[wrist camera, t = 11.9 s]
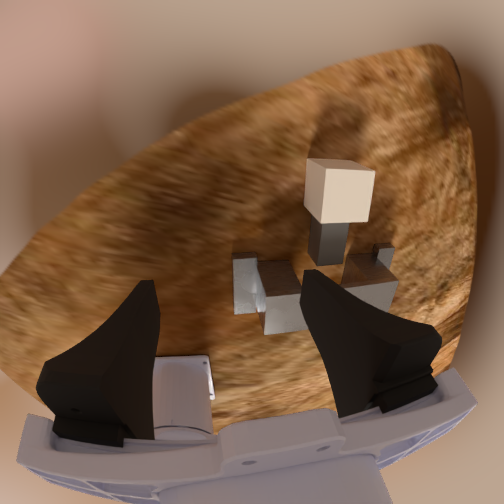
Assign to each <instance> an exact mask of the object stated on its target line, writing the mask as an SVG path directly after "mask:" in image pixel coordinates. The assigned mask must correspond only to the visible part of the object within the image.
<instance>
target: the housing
mask: <svg viewBox="0 0 504 504" xmlns="http://www.w3.org/2000/svg"><path fill="white" fill-rule="evenodd" d="M394 250H395V247H394V246H393V245H392V244H390V243H384V244H374V249H373V253H365V254H353V255H347V258H346V263H345V268H344V273H343V277H342V282H341V284H338V285H339V286H341V287H342V288H344V289H345V290H347V291H348V292H350V293H351V294H353V295H355V296H356V297H358V298H359V299H361V300H363V301H365V302H366V303H368V304H370V305H372V306H374V307H376V308H378V309H380V310H383V311H385V312H388V310H389V307H390V305H391V302H392V299H393V296H394V294H395V291H396V288H397V285H398V282H399V280H398V279H397V278H396V277H395V276H394V275H393V274H392V273H391V272H390V271H389V268H390V265H391V261H392V257H393V254H394ZM232 276H233V308H234V314H245V313H256V307H257V310H258V314H259V318H260V321H261V325H262V329H263V332H264V335H268V334H277V333H285V332H292V331H299V330H306V329H308V327H307V324H306V322H305V320H304V317H303V314H302V311H301V307H300V304H299V302H300V295H301V289H302V286H301V284H300V282H299V280H298V278H297V276H296V274H295V272H294V270H293V268H292V266H291V264H290V262H289V260H275V261H261V262H257V256H256V253H255V252H247V253H232Z"/></svg>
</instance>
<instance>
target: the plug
mask: <svg viewBox="0 0 504 504" xmlns="http://www.w3.org/2000/svg"><path fill="white" fill-rule="evenodd" d="M374 177H375V171H374V170H372V169H369V168H367V167H365V166H363V165H361V164H358V163H356V162H354V161H352V160H338V159H316V158H307V166H306V181H305V195H304V206H305V207H306V208H307V209H308V211H309V212H310V213H311V214H312V217H311V227H310V237H309V246H308V254H309V255H310V257H311V258H312V260H313V261H314V263H315V264H316V266H325V265H335V264H342V263H343V257H344V252H345V246H346V241H347V235H348V229H349V223H350V222H368V216H369V211H370V205H371V198H372V192H373V185H374Z"/></svg>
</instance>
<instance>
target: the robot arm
mask: <svg viewBox="0 0 504 504" xmlns="http://www.w3.org/2000/svg"><path fill="white" fill-rule="evenodd" d="M299 304H300V307H301V311H302V314H303V317H304V320H305V322H306V324H307V327H308V329H309V331H310V333H311V335H312V337H313V339H314V341H315V343H316V346H317V348H318V350H319V352H320V354H321V357H322V359H323V362H324V365H325V368H326V371H327V374H328V377H329V381H330V384H331V388H332V391H333V395H334V399H335V404H336V408H337V413H338V415H337V413H336V411H333V410H330V409H327V408H322V409H313V410H308V411H303V412H298V413H293V414H287V415H281V416H275V417H269V418H262V419H254V420H246V421H242V422H237V423H232V424H230V425H228V426H226V427H224V428H222V429H221V430H220V431H219V433H218V435H214V434H213V424H212V414H211V403H210V400H213V399H215V393H214V387H213V381H212V375H211V368H210V362H209V357H208V356H206V355H198V356H178V357H155V356H156V350H157V344H158V338H159V331H160V310H159V305H158V301H157V296H156V291H155V286H154V281H153V280H141V281H140V282H139V283H138V285H137V286H136V287H135V288H134V289H133V291H132V292H131V293H130V294H129V296H128V297H127V298H126V299H125V301H124V302H123V303H122V304H121V305H120V307H119V308H118V309H117V310H116V311H115V312H114V313H113V314H112V315H111V316H110V317H109V318H108V319H107V320H106V321H105V322H104V323H103V324H102V325H101V326H100V327H99V328H98V329H97V330H95V331H94V332H93V333H92V334H90V335H89V336H88V337H86V338H85V339H84V340H82V341H81V342H80V343H78V344H77V345H75V346H74V347H72V348H70V349H69V350H67V351H65V352H64V353H62V354H60V355H58V356H56V357H54V358H52V359H50V360H48V361H46V362H45V363H44V366H43V368H42V371H41V374H40V376H39V379H38V382H37V385H36V391H37V393H38V395H39V397H40V398H41V400H42V401H43V402H44V403H45V404H46V405H47V406H48V408H49V409H50V410H51V411H52V412H53V413H54V414H55V415H56V416H55V420H54V422H53V421H52V420H50V419H48V418H45V417H40V416H37V415H33V414H27V418H26V421H25V425H24V429H23V432H22V437H21V441H20V445H19V450H18V455H17V459H16V461H17V462H18V463H19V464H20V465H22V466H23V467H25V468H27V469H28V470H29V471H31V472H33V473H34V474H36V475H37V476H39V477H41V478H42V479H44V480H46V481H47V482H49V483H52V484H56V485H59V486H62V487H65V488H68V489H72V490H75V491H79V492H82V493H86V494H90V495H94V496H98V497H102V498H106V499H111V500H115V501H121V502H126V503H132V504H393V503H392V500H391V498H390V495H389V493H388V490H387V488H386V486H385V483H384V481H383V478H382V476H381V473H380V471H379V470H380V469H383V468H384V467H387V466H389V465H391V464H393V463H395V462H396V461H399V460H401V459H403V458H404V457H406V456H408V455H410V454H412V453H413V452H415V451H417V450H419V449H421V448H422V447H424V446H425V445H428V444H429V443H431V442H433V441H434V440H436V439H437V438H439V437H441V436H443V435H444V434H446V433H447V432H449V431H451V430H452V429H453V428H454V427H455V426H456V425H457V424H458V423H459V422H460V421H461V420H462V419H463V418H464V417H465V416H466V415H467V414H468V413H469V412H470V411H471V410H472V409H473V408H474V407H475V406H476V405H477V404H478V402H477V400H476V399H475V397H474V396H473V394H472V393H471V391H470V390H469V388H468V387H467V385H466V384H465V382H464V381H463V379H462V378H461V377H460V375H459V374H458V373H457V371H456V370H455V368H451V369H449V370H447V371H445V372H443V373H440V374H439V375H437V376H436V377H435V378H433V376H432V375H431V373H432V372H433V369H432V367H431V366H430V364H431V363H432V361H433V360H434V358H435V356H436V355H437V353H438V351H439V350H440V348H441V344H442V337H441V336H440V335H439V333H438V332H437V331H436V330H435V328H434V327H433V326H432V325H428V324H424V323H419V322H414V321H411V320H407V319H404V318H401V317H398V316H395V315H392V314H390V313H388V312H385V311H383V310H380V309H378V308H376V307H374V306H372V305H370V304H368V303H366V302H365V301H363V300H361V299H359V298H358V297H356V296H355V295H353V294H351V293H350V292H348V291H347V290H345V289H344V288H342V287H341V286H339V285H338V284H337V283H335V282H334V281H332V280H331V279H330V278H328V277H327V276H325V275H324V274H323V273H321V272H320V271H318V270H316V269H313V270H304V275H303V282H302V289H301V295H300V302H299Z"/></svg>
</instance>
